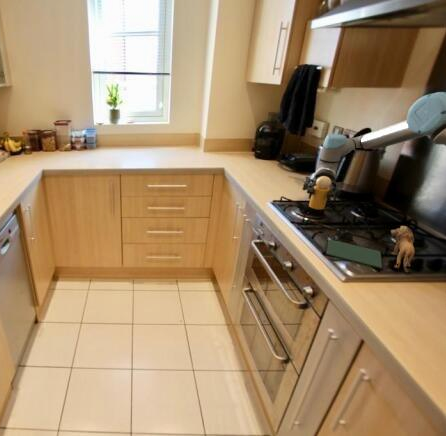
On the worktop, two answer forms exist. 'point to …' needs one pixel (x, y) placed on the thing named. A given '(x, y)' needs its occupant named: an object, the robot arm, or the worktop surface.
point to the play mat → (354, 253)
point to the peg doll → (320, 193)
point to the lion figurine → (403, 246)
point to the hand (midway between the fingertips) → (319, 196)
